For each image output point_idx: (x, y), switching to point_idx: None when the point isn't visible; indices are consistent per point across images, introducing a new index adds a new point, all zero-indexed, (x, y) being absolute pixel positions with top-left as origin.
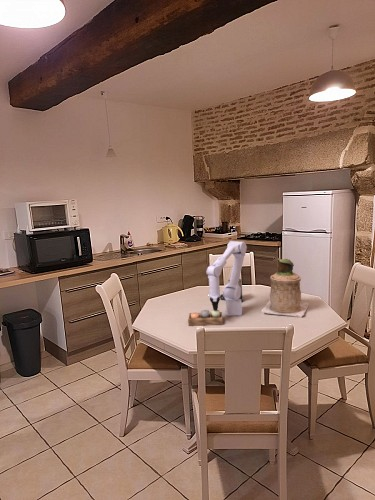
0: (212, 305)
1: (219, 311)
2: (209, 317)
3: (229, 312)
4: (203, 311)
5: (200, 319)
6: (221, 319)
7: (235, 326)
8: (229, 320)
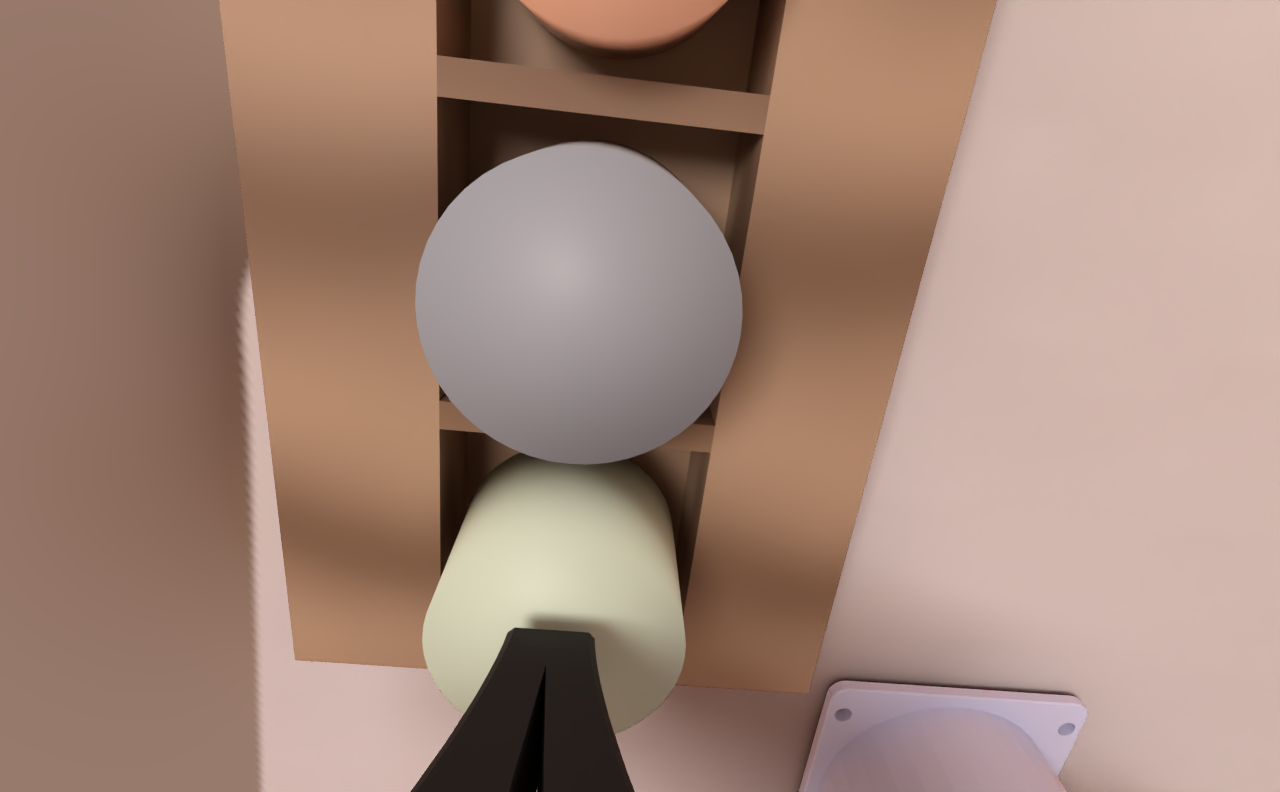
0: (424, 779)
1: None
2: None
3: (862, 778)
4: (584, 255)
5: (281, 83)
6: (296, 642)
7: (276, 745)
8: None
